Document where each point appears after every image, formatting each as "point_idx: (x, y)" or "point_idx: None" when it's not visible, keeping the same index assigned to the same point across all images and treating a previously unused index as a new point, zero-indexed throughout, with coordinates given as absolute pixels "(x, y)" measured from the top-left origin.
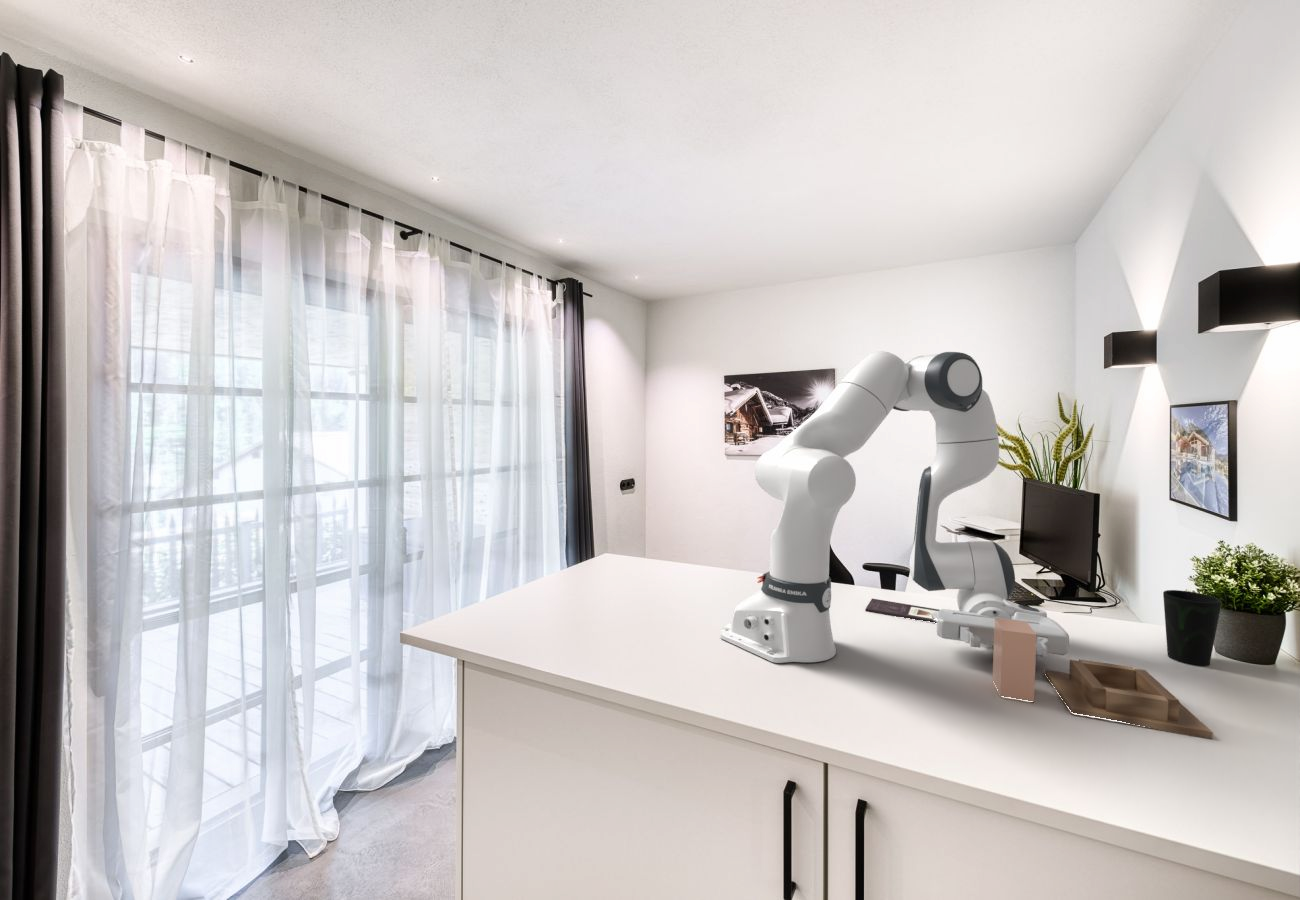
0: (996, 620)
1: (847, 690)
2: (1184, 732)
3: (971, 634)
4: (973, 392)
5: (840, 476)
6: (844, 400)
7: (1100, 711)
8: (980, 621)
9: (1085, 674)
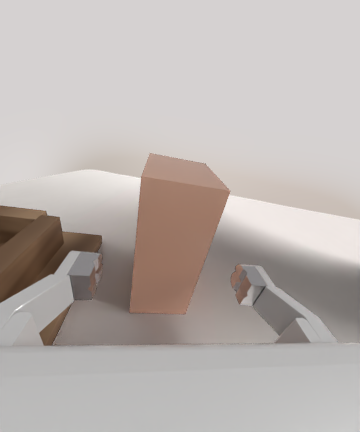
0: (222, 182)
1: (304, 241)
2: None
3: (267, 280)
4: None
5: None
6: None
7: (63, 234)
8: (317, 423)
9: (11, 254)
